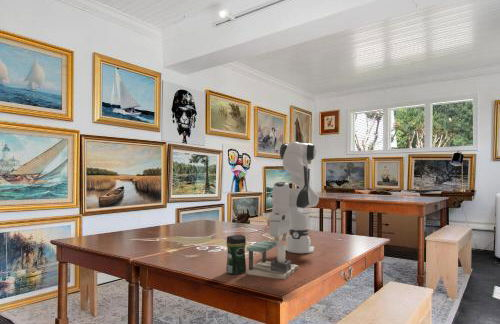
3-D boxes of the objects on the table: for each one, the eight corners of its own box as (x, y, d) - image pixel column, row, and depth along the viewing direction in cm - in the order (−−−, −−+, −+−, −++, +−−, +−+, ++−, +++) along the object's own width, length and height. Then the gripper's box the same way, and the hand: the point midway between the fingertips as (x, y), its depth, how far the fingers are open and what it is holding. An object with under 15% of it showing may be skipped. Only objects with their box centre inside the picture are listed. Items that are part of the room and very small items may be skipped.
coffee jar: (239, 269, 176) (239, 233, 177) (248, 272, 170) (248, 235, 171) (223, 272, 171) (223, 234, 171) (232, 276, 164) (232, 237, 165)
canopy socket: (262, 264, 186) (262, 240, 186) (297, 269, 177) (298, 243, 178) (246, 273, 168) (247, 247, 168) (285, 279, 159) (285, 251, 160)
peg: (278, 268, 171) (279, 244, 172) (286, 269, 170) (286, 244, 170) (276, 270, 168) (276, 245, 168) (283, 271, 166) (283, 246, 167)
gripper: (282, 211, 181) (282, 238, 180) (267, 217, 162) (267, 246, 162) (293, 212, 178) (293, 239, 178) (280, 218, 159) (279, 247, 159)
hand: (281, 242), depth 170 cm, fingers open, 8 cm apart
